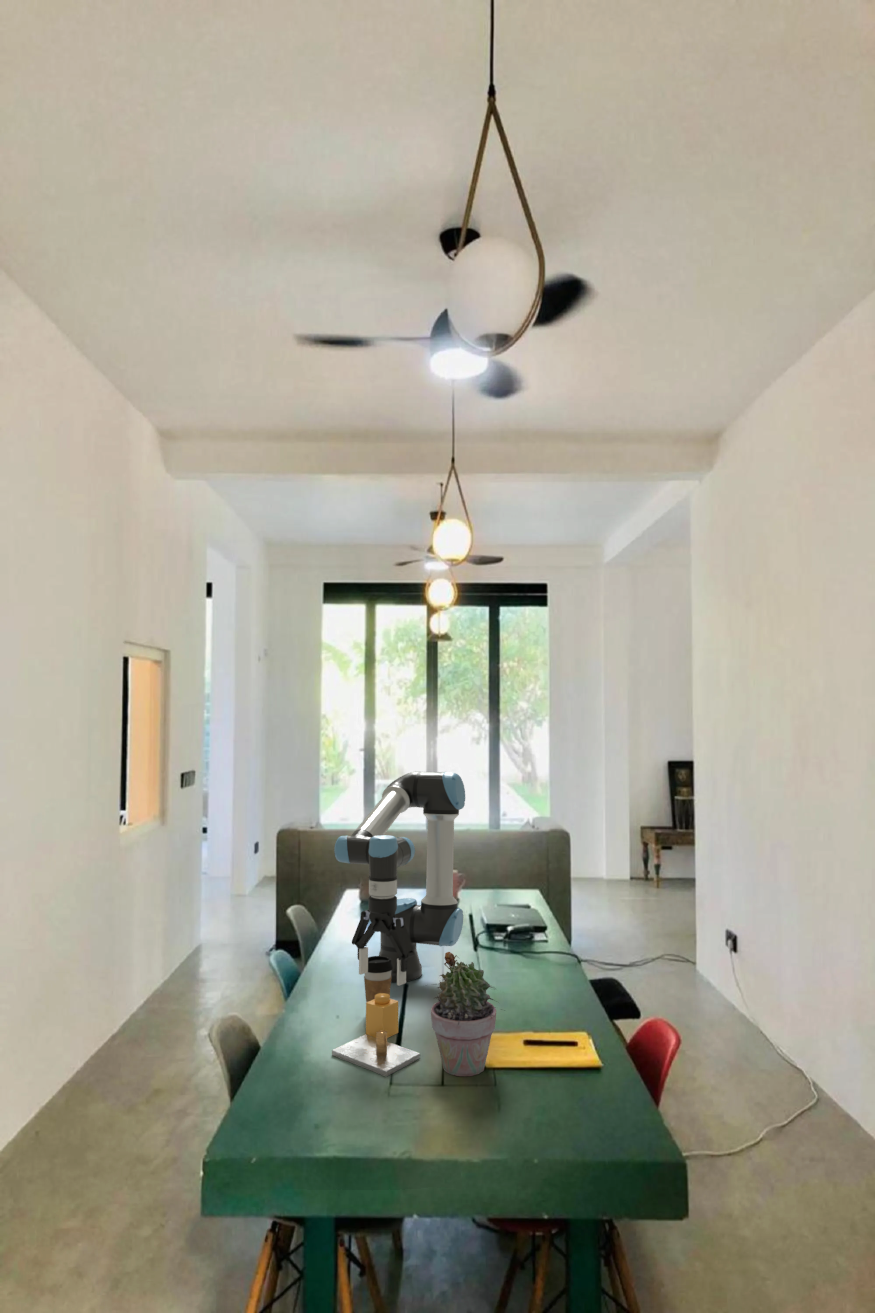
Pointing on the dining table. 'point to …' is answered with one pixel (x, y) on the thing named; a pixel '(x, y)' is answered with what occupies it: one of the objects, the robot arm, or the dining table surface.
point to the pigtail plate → (376, 1054)
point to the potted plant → (463, 1019)
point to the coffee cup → (378, 976)
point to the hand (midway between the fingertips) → (382, 978)
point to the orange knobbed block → (382, 1015)
